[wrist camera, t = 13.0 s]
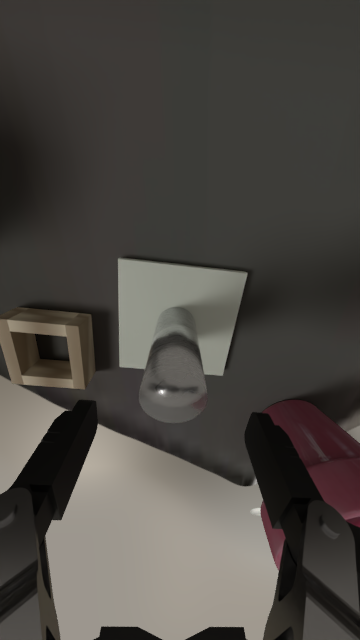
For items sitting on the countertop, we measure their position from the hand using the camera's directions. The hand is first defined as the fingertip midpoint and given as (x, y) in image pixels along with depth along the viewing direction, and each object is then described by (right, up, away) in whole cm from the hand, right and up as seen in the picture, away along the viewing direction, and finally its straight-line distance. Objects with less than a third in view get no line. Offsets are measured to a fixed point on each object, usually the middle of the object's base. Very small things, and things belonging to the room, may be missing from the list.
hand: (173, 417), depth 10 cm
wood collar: (-13, +3, +12) cm, 18 cm away
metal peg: (0, +5, +10) cm, 11 cm away
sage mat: (0, +5, +11) cm, 12 cm away
